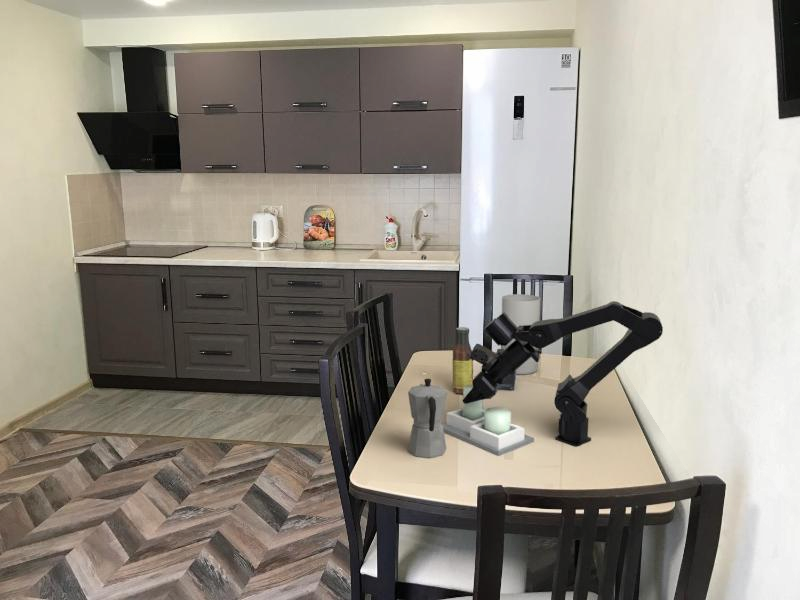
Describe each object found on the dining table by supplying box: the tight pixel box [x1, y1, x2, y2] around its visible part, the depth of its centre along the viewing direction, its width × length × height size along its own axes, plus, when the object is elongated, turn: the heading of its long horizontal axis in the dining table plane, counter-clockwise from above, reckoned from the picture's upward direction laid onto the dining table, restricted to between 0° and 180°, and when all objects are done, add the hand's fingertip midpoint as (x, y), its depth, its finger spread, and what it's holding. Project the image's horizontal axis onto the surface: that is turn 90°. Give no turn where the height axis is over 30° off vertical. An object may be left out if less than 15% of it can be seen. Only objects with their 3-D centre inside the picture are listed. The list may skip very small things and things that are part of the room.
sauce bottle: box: [452, 326, 474, 395], centre depth 197 cm, size 6×6×20 cm
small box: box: [495, 348, 517, 391], centre depth 205 cm, size 11×6×10 cm, turn 168°
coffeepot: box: [407, 378, 448, 459], centre depth 154 cm, size 15×9×18 cm, turn 6°
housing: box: [442, 406, 535, 457], centre depth 165 cm, size 21×13×8 cm, turn 40°
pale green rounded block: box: [462, 385, 483, 421], centre depth 169 cm, size 5×5×10 cm
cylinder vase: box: [500, 293, 541, 376], centre depth 219 cm, size 12×12×25 cm
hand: (467, 396), depth 169 cm, fingers open, 9 cm apart
